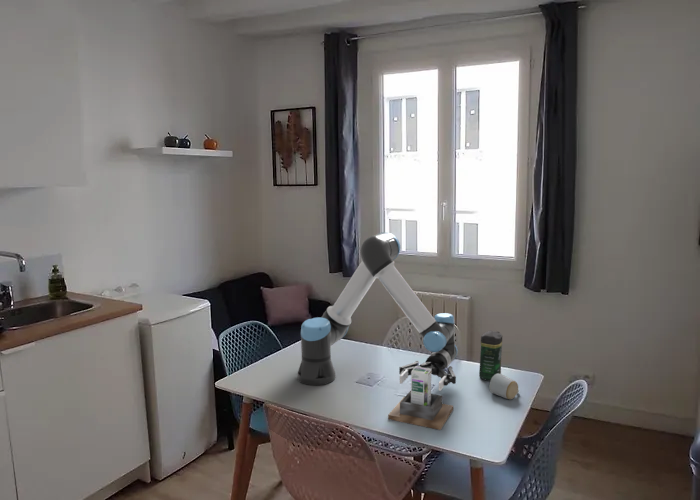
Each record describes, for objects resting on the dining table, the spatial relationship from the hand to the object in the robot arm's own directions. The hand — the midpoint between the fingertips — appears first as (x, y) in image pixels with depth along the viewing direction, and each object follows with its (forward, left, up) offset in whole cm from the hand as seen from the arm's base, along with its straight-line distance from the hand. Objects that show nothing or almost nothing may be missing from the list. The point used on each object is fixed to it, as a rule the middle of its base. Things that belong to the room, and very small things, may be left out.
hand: (419, 383), depth 177 cm
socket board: (0, +2, -12) cm, 12 cm away
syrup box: (0, +2, -11) cm, 11 cm away
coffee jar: (+15, +45, -12) cm, 49 cm away
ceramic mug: (+23, +30, -12) cm, 40 cm away
